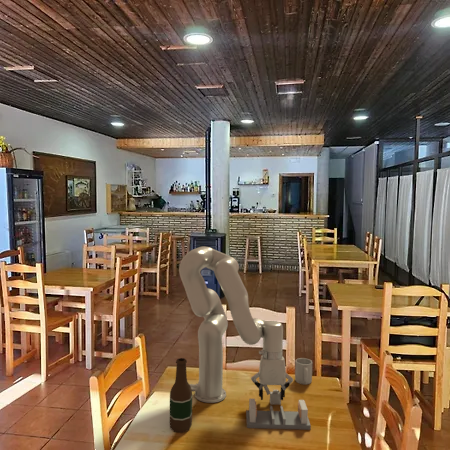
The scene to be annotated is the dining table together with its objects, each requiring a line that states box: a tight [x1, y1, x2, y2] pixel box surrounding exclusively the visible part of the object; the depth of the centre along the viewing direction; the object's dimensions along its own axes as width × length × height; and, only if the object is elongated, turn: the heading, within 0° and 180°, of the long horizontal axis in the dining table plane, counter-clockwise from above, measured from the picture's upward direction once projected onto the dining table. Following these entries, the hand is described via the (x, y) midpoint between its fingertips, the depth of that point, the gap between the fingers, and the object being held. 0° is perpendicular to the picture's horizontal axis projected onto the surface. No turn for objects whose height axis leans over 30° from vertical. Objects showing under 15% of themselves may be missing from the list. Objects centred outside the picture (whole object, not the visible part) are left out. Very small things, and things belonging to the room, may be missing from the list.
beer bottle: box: [169, 357, 193, 434], centre depth 140 cm, size 8×8×24 cm
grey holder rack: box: [245, 398, 312, 431], centre depth 145 cm, size 22×9×6 cm, turn 89°
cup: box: [294, 357, 313, 386], centre depth 176 cm, size 7×10×9 cm
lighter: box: [263, 385, 282, 406], centre depth 158 cm, size 7×2×8 cm, turn 93°
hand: (271, 398), depth 158 cm, fingers closed on lighter, 7 cm apart
